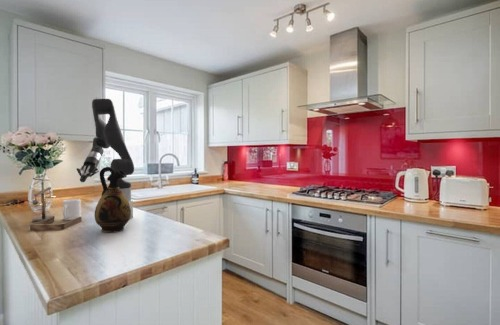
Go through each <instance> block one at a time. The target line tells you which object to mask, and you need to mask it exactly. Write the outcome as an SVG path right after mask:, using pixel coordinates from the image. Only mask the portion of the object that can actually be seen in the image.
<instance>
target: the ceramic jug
mask: <svg viewBox="0 0 500 325" xmlns="http://www.w3.org/2000/svg"><path fill="white" fill-rule="evenodd" d="M106 172H110V174H109V175H108V177H107V179H106V178H105V173H106ZM127 177H128V175H126V174H125V173H124V172H123V171H122V170H121V171H118V170H117V171H116V172H115V170H114V169H113V168H111V166H105V167H103V168H101V170H100V171H99V181H100V183H101V186H102V189H103V190H102V192H101V197H100V198H99V200H98V202H97V204H96V206H95V209H94V220H95V221H94V222H95V223H96V225H98V226H99V227H100V228H101V231H102V232H103V233H110V234H111V233H117V232H122V231H124V229H125V226H126V225H127V223H129V221H130V220H131V218H130V216H131V209H130V205H129V202H128V200H127V198H126V196H125V195H124V194H123V192H122V191H121V190H120V188H119V187H118V181H119V180H120V179H125V178H127ZM106 181H109V184H108V185H107V182H106Z"/></svg>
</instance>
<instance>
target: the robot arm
mask: <svg viewBox="0 0 500 325" xmlns="http://www.w3.org/2000/svg"><path fill="white" fill-rule="evenodd" d="M91 109H92V114H93V115H92V116H93V119H94V126H95V137H94V138H93V139H92V148H91V149H90V150H89V151H90V152H89V153H88V154H87V156H86V158H85V160H84V162H83V165H81V167H80V168H78V167H77V168H76V171H77V173H78V175H79V177H80V178H79V181H80V183H85V182H86V180H87V179H88V178H91V177H93V176H94V175H96V174H98V173H100V171H99V169H98V165H99V163H100V161H101V160H102V156H103V155H104V152H105V150H104V149H106V150H107V149H109V148H111V149H112V150H113V151H115V153H117V154H118V156H119V158H113V159H111V162H110V167H111V168H113V169H114V170H115V172H116V171H117V170H118V171H121V170H122V171H123V172H124V173H125V174H126V175H127V176H129V175H133V173H135V172H134V171H135V165H134V162H133V159H132V157H131V154H130V153H129V151H128V147H127V145H126V142H125V138H124V136H123V135H124V134H123V132H122V129H121V126H120V124H119V121H118V118H117V114H116V110H115V105H114V102H113V100H112V99H110V98H94V99H93V100H92V101H91ZM102 115H109V117H108V120H107V123H106V122H105V120H103V118H102V117H101V116H102ZM118 187H119V188H120V190H121V191H122V192H123V194H124V195H125V196H126V198H127V200H128V202H129V205H130V209H131V216H130V219H132V218H133V217H134V207H133V206H134V204H133V203H134V202H133V199H132V184H131V182H130V181H126V180H124V178H122V179H120V180H119V181H118Z"/></svg>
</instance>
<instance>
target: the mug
mask: <svg viewBox="0 0 500 325" xmlns="http://www.w3.org/2000/svg"><path fill="white" fill-rule="evenodd" d="M61 212H62V213H61V214H62V216H63V217H62V218H63V220H64V221H70V220H73V219H75V218H77V217H81V218H82V199H80V198H71V199H65V200H62V210H61Z"/></svg>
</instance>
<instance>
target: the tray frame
mask: <svg viewBox="0 0 500 325" xmlns="http://www.w3.org/2000/svg"><path fill="white" fill-rule="evenodd" d="M54 222H55V218H54V217H51V218H48V219H45V220H43V221H40V222H33V223H32V224H30V225H29V230H30V231H47V230H48V231H51V230H53V231H55V230H57V231H58V230H65V229H68V228H69V227H72V226H74V225H76V224H79V223H80V222H82V216H81V217H77V218H75V219H73V220H67V221H65V222H64V223H54Z"/></svg>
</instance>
